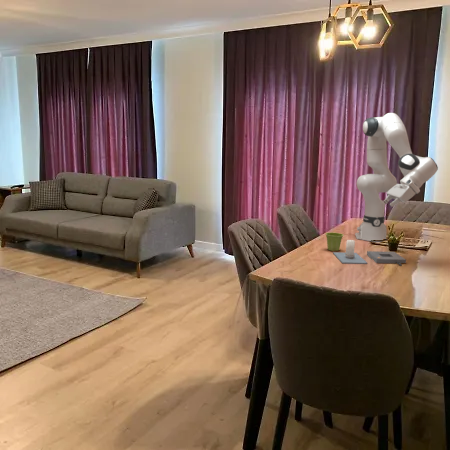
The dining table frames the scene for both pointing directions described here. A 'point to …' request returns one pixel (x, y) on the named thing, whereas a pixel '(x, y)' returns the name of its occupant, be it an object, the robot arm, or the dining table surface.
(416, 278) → the dining table surface
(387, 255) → the grey square frame
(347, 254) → the white rounded cylinder
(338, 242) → the plant pot
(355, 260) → the rubber mat
